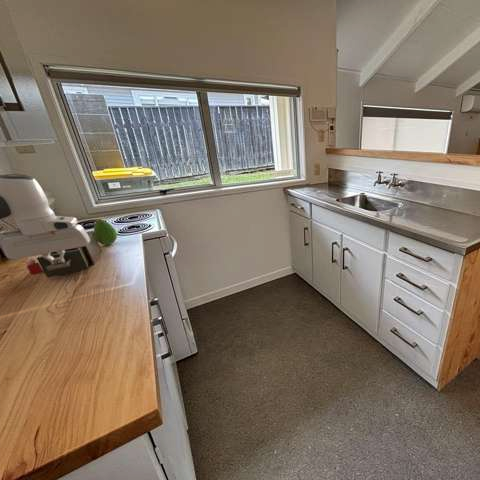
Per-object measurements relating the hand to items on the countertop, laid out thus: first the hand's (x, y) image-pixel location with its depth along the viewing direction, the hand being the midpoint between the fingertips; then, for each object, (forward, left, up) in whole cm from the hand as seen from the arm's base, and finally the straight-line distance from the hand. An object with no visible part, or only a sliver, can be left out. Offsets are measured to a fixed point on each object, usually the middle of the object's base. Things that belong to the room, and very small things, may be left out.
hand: (59, 263), depth 88 cm
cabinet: (0, +16, -6) cm, 17 cm away
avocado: (+8, +31, -7) cm, 33 cm away
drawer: (0, +7, -5) cm, 9 cm away
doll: (-12, +14, -6) cm, 20 cm away
